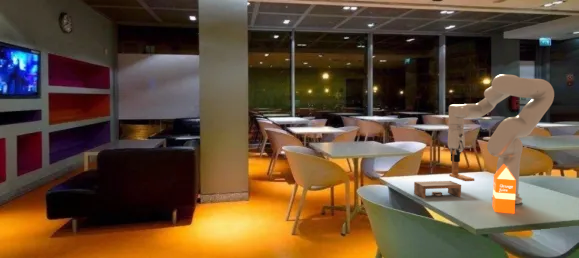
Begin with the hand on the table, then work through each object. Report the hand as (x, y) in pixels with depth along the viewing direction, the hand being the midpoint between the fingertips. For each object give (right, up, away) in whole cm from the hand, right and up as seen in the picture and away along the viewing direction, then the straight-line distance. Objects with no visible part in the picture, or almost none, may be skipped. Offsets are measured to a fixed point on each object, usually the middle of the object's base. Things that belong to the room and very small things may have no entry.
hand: (455, 161), depth 219 cm
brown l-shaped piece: (+1, -9, -6) cm, 10 cm away
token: (-14, -17, -12) cm, 25 cm away
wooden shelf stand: (-14, -16, -12) cm, 25 cm away
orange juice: (+5, -19, -40) cm, 44 cm away
